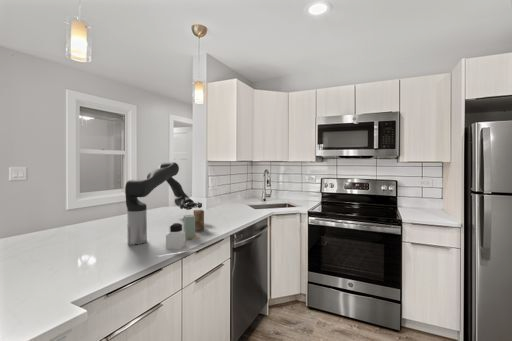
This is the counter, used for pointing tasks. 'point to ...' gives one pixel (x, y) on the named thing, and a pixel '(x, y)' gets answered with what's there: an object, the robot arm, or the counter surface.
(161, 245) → the counter surface
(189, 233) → the sage block
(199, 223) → the walnut block
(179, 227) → the medicine bottle
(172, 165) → the robot arm
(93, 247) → the counter surface
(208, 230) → the slate tile
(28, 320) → the counter surface
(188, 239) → the oak tile
